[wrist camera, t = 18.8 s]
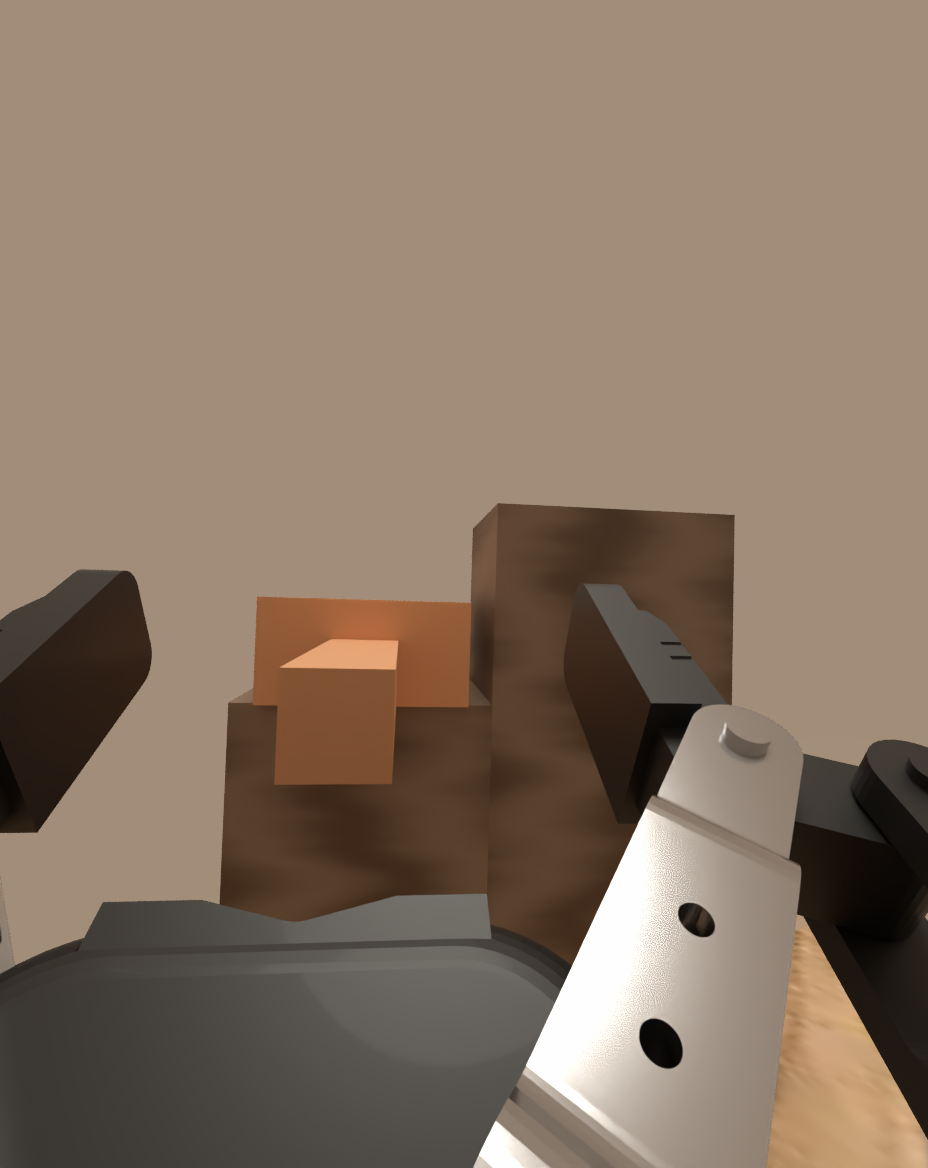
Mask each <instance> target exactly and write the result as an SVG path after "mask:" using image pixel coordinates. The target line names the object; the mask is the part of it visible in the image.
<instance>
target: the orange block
mask: <svg viewBox="0 0 928 1168" xmlns="http://www.w3.org/2000/svg"><path fill="white" fill-rule="evenodd" d="M470 635H471V603H455V602H422V601H391V600H388V601H387V600H357V599H356V600H355V599H325V598H324V599H322V598H288V597H257V615H256V638H255V639H256V640H255V663H254V686H253V705H276V706H277V730H276V755H275V779H274V785H310V784H392V773H393V755H394V737H395V719H396V707H468V702H469V668H470Z"/></svg>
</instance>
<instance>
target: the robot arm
mask: <svg viewBox="0 0 928 1168" xmlns="http://www.w3.org/2000/svg"><path fill="white" fill-rule="evenodd" d="M151 658H152V651H151V643H150V639H149V634H148V630H147V625H146V621H145V617H144V613H143V607H142V603H141V598H140V594H139V589H138V585H137V582H136V580H135V578H134V576H133V575H132V574H131V573H130V572H128V571H113V570H111V571H110V570H78V571H76V572H75V573H73V574H72V575H71V576H70V577H68V578H67V579H66V580H65V581H63V582H62V583H61V584H60V585H58V586H57V587H56V588H55V589H53V590H52V591H51V592H50V593H48V594H47V595H46V596H44V597H42V598H40V599H38V600H36V601H33V602H31V603H29V604H27V605H25V606H23V607H20V608H18V609H16V610H14V611H12V612H10V613H9V614H8V615H6V616H5V617H4V618H3V619H1V620H0V833H30V832H31V833H32V832H38V831H39V829H40V828H41V827H42V825H43V824H44V822H45V821H46V820H47V818H48V817H49V815H50V814H51V812H52V811H53V810H54V808H55V807H56V805H57V804H58V803H59V801H60V800H61V798H62V797H63V795H64V794H65V793H66V791H67V790H68V789H69V787H70V786H71V784H72V783H73V782H74V780H75V779H76V777H77V776H78V774H79V773H80V772H81V770H82V769H83V768H84V766H85V765H86V763H87V762H88V761H89V759H90V758H91V756H92V755H93V754H94V752H95V751H96V749H97V748H98V746H99V745H100V744H101V742H102V741H103V739H104V738H105V737H106V735H107V734H108V732H109V731H110V730H111V728H112V727H113V725H114V724H115V723H116V721H117V720H118V718H119V717H120V716H121V714H122V713H123V711H124V710H125V709H126V707H127V706H128V704H129V703H130V702H131V700H132V699H133V697H134V696H135V695H136V693H137V692H138V690H139V689H140V688H141V686H142V685H143V683H144V682H145V680H146V678H147V676H148V674H149V670H150V666H151ZM564 677H565V683H566V686H567V689H568V691H569V694H570V697H571V699H572V702H573V705H574V708H575V710H576V713H577V716H578V718H579V721H580V724H581V726H582V729H583V732H584V734H585V737H586V740H587V742H588V745H589V748H590V750H591V753H592V756H593V758H594V761H595V764H596V766H597V769H598V772H599V775H600V777H601V780H602V783H603V785H604V788H605V791H606V793H607V796H608V799H609V801H610V804H611V807H612V809H613V812H614V815H615V817H616V820H617V823H618V824H638V826H637V828H636V830H635V832H634V834H633V836H632V838H631V841H630V843H629V845H628V847H627V849H626V851H625V854H624V856H623V858H622V860H621V862H620V864H619V867H618V869H617V871H616V873H615V875H614V877H613V880H612V882H611V884H610V886H609V888H608V890H607V893H606V895H605V897H604V899H603V901H602V903H601V905H600V908H599V910H598V912H597V914H596V916H595V918H594V921H593V923H592V925H591V927H590V929H589V931H588V934H587V936H586V938H585V940H584V942H583V944H582V947H581V949H580V951H579V953H578V955H577V957H576V960H575V962H574V964H573V966H571V965H570V964H569V963H568V962H567V961H565V960H564V959H563V958H561V957H560V956H558V955H557V954H555V953H554V952H552V951H551V950H549V949H548V948H546V947H545V946H543V945H541V944H539V943H537V942H535V941H533V940H531V939H530V938H528V937H526V936H523V935H521V934H518V933H515V932H513V931H510V930H508V929H505V928H501V927H498V926H494V925H490V919H489V910H488V901H487V894H453V895H408V896H394V897H390V898H387V899H383V900H379V901H376V902H372V903H368V904H365V905H361V906H357V907H354V908H350V909H346V910H343V911H339V912H335V913H332V914H328V915H324V916H321V917H317V918H313V919H310V920H305V921H300V922H290V921H285V920H280V919H276V918H272V917H268V916H264V915H260V914H256V913H252V912H248V911H244V910H240V909H236V908H232V907H228V906H224V905H220V904H215V903H212V902H208V901H203V900H182V901H142V902H141V901H138V902H103V903H102V905H101V907H100V909H99V911H98V913H97V915H96V917H95V918H94V920H93V922H92V924H91V926H90V928H89V930H88V932H87V934H86V936H85V938H82V939H79V940H75V941H72V942H70V943H67V944H64V945H61V946H59V947H56V948H53V949H51V950H48V951H45V952H43V953H41V954H39V955H37V956H34V957H32V958H30V959H28V960H26V961H24V962H22V963H19V964H17V965H15V961H14V956H13V950H12V944H11V938H10V932H9V926H8V920H7V914H6V908H5V902H4V896H3V890H2V884H1V878H0V1168H766V1166H767V1158H768V1150H769V1141H770V1133H771V1125H772V1116H773V1108H774V1100H775V1091H776V1083H777V1075H778V1067H779V1058H780V1050H781V1042H782V1033H783V1025H784V1017H785V1008H786V1000H787V992H788V983H789V975H790V967H791V958H792V950H793V942H794V934H795V924H796V917H797V914H798V915H801V916H804V918H805V920H806V922H807V924H808V925H809V927H810V929H811V931H812V933H813V934H814V936H815V938H816V940H817V942H818V943H819V945H820V947H821V949H822V951H823V952H824V954H825V956H826V958H827V960H828V961H829V963H830V965H831V967H832V969H833V970H834V972H835V974H836V976H837V978H838V979H839V981H840V983H841V985H842V986H843V988H844V990H845V992H846V994H847V995H848V997H849V999H850V1001H851V1003H852V1004H853V1006H854V1008H855V1010H856V1012H857V1013H858V1015H859V1017H860V1019H861V1021H862V1022H863V1024H864V1026H865V1028H866V1030H867V1031H868V1033H869V1035H870V1037H871V1039H872V1040H873V1042H874V1044H875V1046H876V1048H877V1049H878V1051H879V1053H880V1055H881V1057H882V1058H883V1060H884V1062H885V1064H886V1066H887V1067H888V1069H889V1071H890V1073H891V1075H892V1076H893V1078H894V1080H895V1082H896V1083H897V1085H898V1087H899V1089H900V1091H901V1092H902V1094H903V1096H904V1098H905V1100H906V1101H907V1103H908V1105H909V1107H910V1109H911V1110H912V1112H913V1114H914V1116H915V1118H916V1119H917V1121H918V1123H919V1125H920V1127H921V1128H922V1130H923V1132H924V1134H925V1136H926V1137H927V1139H928V921H927V919H926V918H925V916H926V914H927V913H928V748H927V747H924V746H922V745H918V744H915V743H910V742H906V741H900V740H882V741H877V742H875V743H873V744H872V745H871V746H870V747H869V748H868V750H867V752H866V754H865V756H864V758H863V760H862V762H861V764H860V765H859V767H858V766H855V765H850V764H846V763H841V762H837V761H832V760H828V759H824V758H820V757H815V756H811V755H806V754H803V753H802V749H801V748H800V746H799V744H798V742H797V741H796V740H795V739H794V737H793V736H792V735H790V733H789V732H788V731H787V730H785V729H784V728H783V727H782V726H780V725H779V724H777V723H776V722H774V721H773V720H771V719H769V718H767V717H765V716H764V715H761V714H759V713H757V712H754V711H752V710H748V709H746V708H742V707H738V706H732V705H728V704H727V703H726V702H725V700H724V699H723V698H722V696H721V695H720V694H719V692H718V691H717V690H716V688H715V687H714V686H713V684H712V683H711V682H710V680H709V679H708V678H707V676H706V675H705V674H704V672H703V671H702V670H701V668H700V667H699V666H698V664H697V663H696V662H695V660H692V659H691V655H690V654H689V652H688V651H687V650H686V648H685V647H684V646H682V645H681V642H680V640H679V639H678V638H677V636H676V635H675V634H674V632H673V631H672V630H671V628H670V627H669V626H668V625H667V624H666V623H664V622H663V621H661V620H660V619H658V618H657V617H655V616H654V615H653V614H651V613H650V612H648V611H643V610H638V609H637V608H636V606H635V605H634V603H633V602H632V601H631V599H630V598H629V596H628V595H627V593H626V592H625V590H624V589H623V588H622V586H621V585H616V584H582V583H581V584H579V585H578V587H577V589H576V592H575V596H574V601H573V607H572V613H571V618H570V624H569V629H568V635H567V641H566V646H565V652H564Z"/></svg>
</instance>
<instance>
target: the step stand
mask: <svg viewBox="0 0 928 1168" xmlns="http://www.w3.org/2000/svg"><path fill="white" fill-rule="evenodd" d="M472 548H473V549H472V580H471V635H470V668H469V702H468V707H396V719H395V737H394V755H393V773H392V784H310V785H274V779H275V755H276V730H277V706H276V705H253V689H251V690H249V691H248V692H246V693H244V694H243V695H241V696H239V697H237V698H236V699H234V700H232V701H230V702H229V703H228V726H227V749H226V771H225V773H226V774H225V794H224V816H223V840H222V862H221V887H220V905H224V906H228V907H232V908H236V909H240V910H244V911H248V912H252V913H256V914H260V915H264V916H268V917H272V918H276V919H280V920H285V921H290V922H300V921H305V920H310V919H313V918H317V917H321V916H324V915H328V914H332V913H335V912H339V911H343V910H346V909H350V908H354V907H357V906H361V905H365V904H368V903H372V902H376V901H379V900H383V899H387V898H390V897H394V896H408V895H453V894H487V901H488V910H489V919H490V925H494V926H498V927H501V928H505V929H508V930H510V931H513V932H515V933H518V934H521V935H523V936H526V937H528V938H530V939H531V940H533V941H535V942H537V943H539V944H541V945H543V946H545V947H546V948H548V949H549V950H551V951H552V952H554V953H555V954H557V955H558V956H560V957H561V958H563V959H564V960H565V961H567V962H568V963H569V964H570V965H571V966H573V964H574V962H575V960H576V957H577V955H578V953H579V951H580V949H581V947H582V944H583V942H584V940H585V938H586V936H587V934H588V931H589V929H590V927H591V925H592V923H593V921H594V918H595V916H596V914H597V912H598V910H599V908H600V905H601V903H602V901H603V899H604V897H605V895H606V893H607V890H608V888H609V886H610V884H611V882H612V880H613V877H614V875H615V873H616V871H617V869H618V867H619V864H620V862H621V860H622V858H623V856H624V854H625V851H626V849H627V847H628V845H629V843H630V841H631V838H632V836H633V834H634V832H635V830H636V828H637V826H638V824H618V823H617V820H616V817H615V815H614V812H613V809H612V807H611V804H610V801H609V799H608V796H607V793H606V791H605V788H604V785H603V783H602V780H601V777H600V775H599V772H598V769H597V766H596V764H595V761H594V758H593V756H592V753H591V750H590V748H589V745H588V742H587V740H586V737H585V734H584V732H583V729H582V726H581V724H580V721H579V718H578V716H577V713H576V710H575V708H574V705H573V702H572V699H571V697H570V694H569V691H568V689H567V686H566V683H565V677H564V652H565V646H566V641H567V635H568V629H569V624H570V618H571V613H572V607H573V601H574V596H575V592H576V589H577V587H578V585H579V584H581V583H582V584H616V585H621V586H622V588H623V589H624V590H625V592H626V593H627V595H628V596H629V598H630V599H631V601H632V602H633V603H634V605H635V606H636V608H637V609H638V610H643V611H648V612H650V613H651V614H653V615H654V616H655V617H657V618H658V619H660V620H661V621H663V622H664V623H666V624H667V625H668V626H669V627H670V628H671V630H672V631H673V632H674V634H675V635H676V636H677V638H678V639H679V640H680V642H681V645H682V646H684V647H685V648H686V650H687V651H688V652H689V654H690V655H691V659H692V660H695V662H696V663H697V664H698V666H699V667H700V668H701V670H702V671H703V672H704V674H705V675H706V676H707V678H708V679H709V680H710V682H711V683H712V684H713V686H714V687H715V688H716V690H717V691H718V692H719V694H720V695H721V696H722V698H723V699H724V700H725V702H726V703H727V704H728V705H732V648H733V647H732V646H733V643H732V642H733V580H734V579H733V578H734V577H733V576H734V515H720V514H702V513H701V514H700V513H681V512H661V511H641V510H620V509H600V508H580V507H561V506H541V505H520V504H500V503H499V504H497V505H496V506H495V507H494V508H493V509H492V510H491V511H490V512H489V513H488V514H487V515H486V516H485V517H484V518H483V520H481V521H480V522H479V523H478V524H477V526H475V527H474V528H473V546H472Z"/></svg>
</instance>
